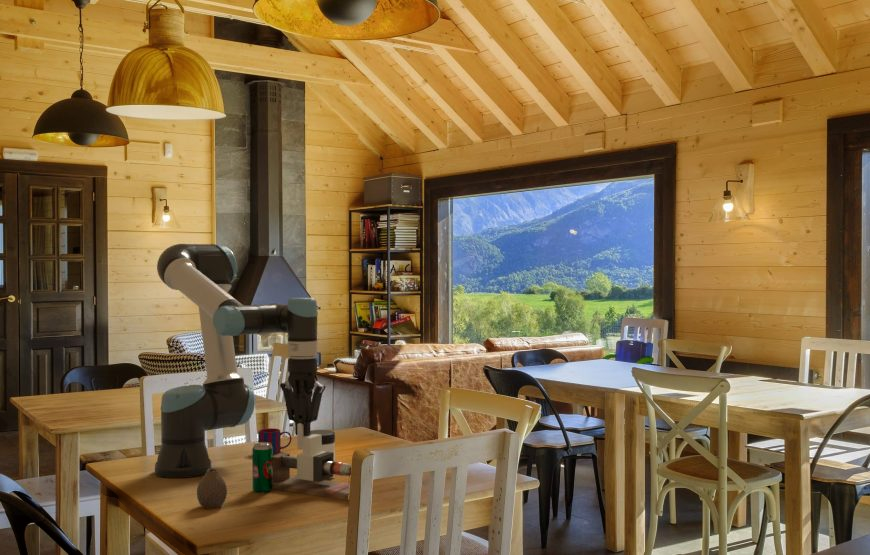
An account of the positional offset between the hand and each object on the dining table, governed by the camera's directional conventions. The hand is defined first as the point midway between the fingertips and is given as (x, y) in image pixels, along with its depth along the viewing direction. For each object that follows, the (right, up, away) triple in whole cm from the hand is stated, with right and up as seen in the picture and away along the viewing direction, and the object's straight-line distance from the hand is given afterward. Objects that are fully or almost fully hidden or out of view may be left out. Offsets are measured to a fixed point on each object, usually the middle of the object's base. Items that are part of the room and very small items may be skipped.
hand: (302, 448), depth 220 cm
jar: (+3, -10, +11) cm, 16 cm away
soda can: (-10, -10, -4) cm, 15 cm away
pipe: (+4, -6, -2) cm, 7 cm away
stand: (+4, -10, -2) cm, 11 cm away
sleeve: (+3, -7, -1) cm, 8 cm away
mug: (-15, -10, +41) cm, 45 cm away
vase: (-19, -11, -18) cm, 28 cm away
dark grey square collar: (+6, -7, -3) cm, 10 cm away
